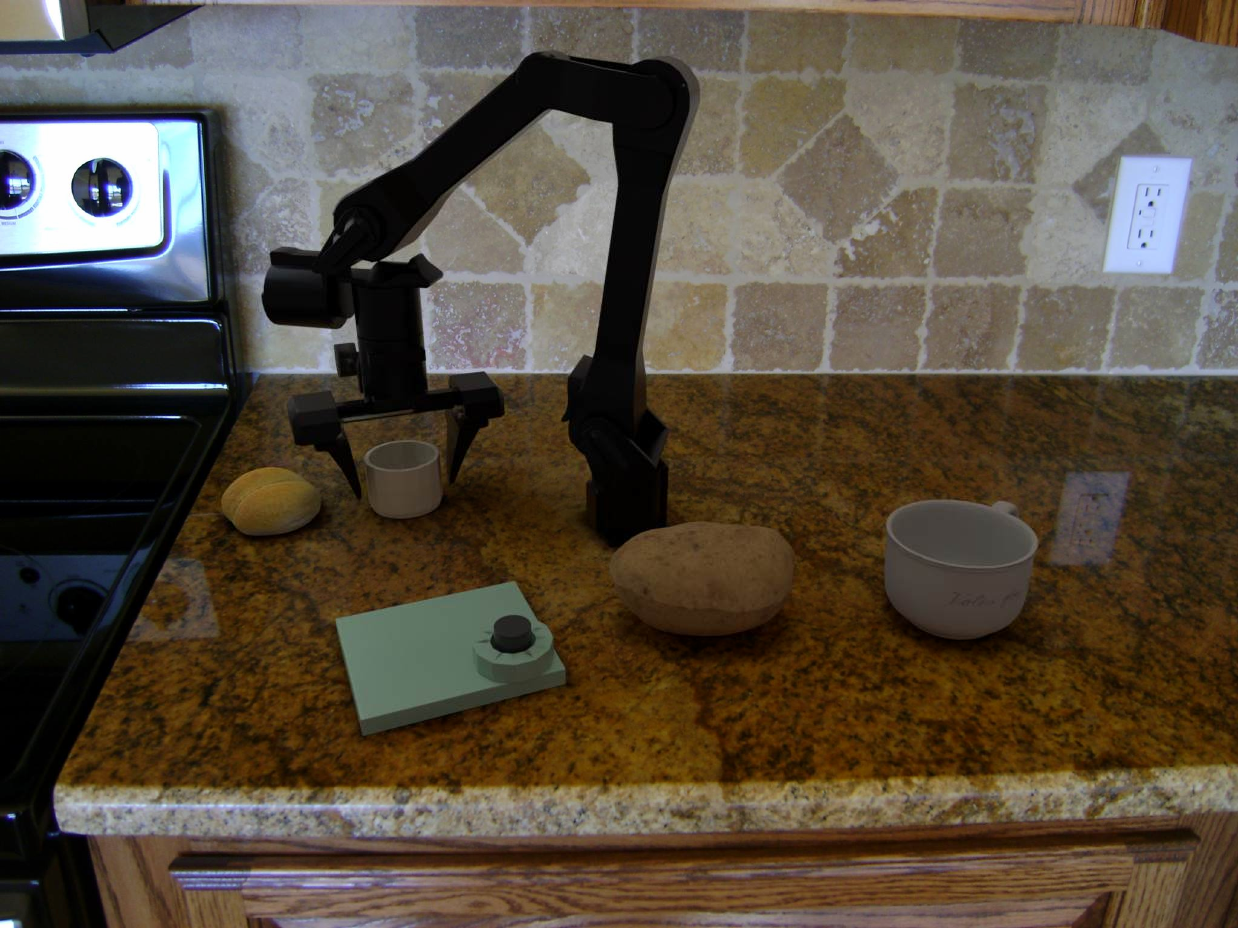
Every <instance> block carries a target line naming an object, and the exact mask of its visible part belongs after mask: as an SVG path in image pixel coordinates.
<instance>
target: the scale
mask: <svg viewBox="0 0 1238 928" xmlns="http://www.w3.org/2000/svg"><path fill="white" fill-rule="evenodd" d="M507 615H520V616H524V617H526V618H527V619H528V620H529V621H530V622H531V634H532V644H531V646H530V648H529V649H528V650H526V651H524V652H520V653H515V654H508V653H501V652H499V651H498V650H497V649H496V648H495V645H494V628H493V627H494V624H495V622H496V621H497V620H498V619H500V618H501V617H504V616H507ZM335 628H336V635H337V638H338V642H339V646H340V650H341V655H342V658H343V662H344V667H345V670H346V675H347V679H348V683H349V687H350V691H351V694H352V695H351V696H352V699H353V703H354V707H355V711H356V715H357V719H358V723H359V728H360V732H361V735H362V737H365V736H369V735H373V734H377V733H380V732H384V731H388V730H392V729H396V728H399V727H403V726H407V725H412V724H416V723H419V722H423V721H426V720H430V719H434V718H438V717H443V716H447V715H450V714H454V713H458V712H462V711H465V710H469V709H473V708H477V707H482V706H485V705H489V704H493V703H496V702H500V701H504V700H509V699H512V698H517V697H521V696H525V695H528V694H532V693H535V692H539V691H543V690H548V689H551V688H555V687H559V686H563V685H566V684H567V677H566V676H567V675H566V674H567V672H566V671H567V669H566V667H565V665H564V663H563V662H562V660H561V658H560V656H559V655H558V653H557V651H556V649H555V646H554V643H555V640H554V639H555V638H554V635H553V633H552V632H551V630H550V628H549V627H548V624H545V623H543V622H541V621H539V620H538V619H537V617H536V615H535V613H534V612H533V610H532V608H531V606H530V605H529V603H528V601H527V600H526V598H525V596H524V594H523V593H522V591H521V589H520V587H519V586H518V584H517V582H516V581H515V580H512V581H508V582H503V583H497V584H494V585H489V586H485V587H481V588H474V589H470V590H465V591H461V592H455V593H450V594H447V595H441V596H438V597H432V598H427V599H422V600H418V601H413V602H409V603H403V604H399V605H395V606H394V605H393V606H390V607H386V608H380V609H376V610H369V611H366V612H362V613H357V614H353V615H352V614H351V615H346V616H343V617H338V618H335Z"/></svg>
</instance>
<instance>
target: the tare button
mask: <svg viewBox="0 0 1238 928" xmlns="http://www.w3.org/2000/svg"><path fill="white" fill-rule="evenodd" d="M493 628H494V645H495V648H496V649H497V650H498V651H499V652H501V653H508V654H515V653H520V652H524V651H526V650H528V649H529V648H530V646H531V644H532V634H531V622H530V621H529V620H528V619H527V618H526V617H524V616H520V615H507V616H504V617H501V618H500V619H498V620H497V621H496V622H495V624H494V627H493Z"/></svg>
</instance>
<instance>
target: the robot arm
mask: <svg viewBox="0 0 1238 928" xmlns="http://www.w3.org/2000/svg"><path fill="white" fill-rule="evenodd" d="M700 103H701V86H700V81H699V80H698V78H697V76H696V75H695V73H694V72H693V70H692V69H691V67H690V66H689V65H687V64H686V63H685V62H684V61H683V60H682V59H679V58H676V57H674V56H671V55H657V56H653V57H649V58H645V59H642V60H640V61H637V62H634V63H627V62H620V61H613V60H606V59H599V58H590V57H584V56H576V55H571V54H566V53H564V52H563V51H560V50H556V49H550V50H542V51H535V52H534V51H533V52H531V53H529V54H528V55H526V56H525V57H523V58H522V60H521V61H520V63H519V64H518V66H517V67H516V69H514V71H512V72H511V73H510V74H509V75H508V76H507V77H506V78H505V79H504V80H502V81H501V82H500V83H498V85H497V86H495V87H494V88H493V89H492V90H490V91H489V92H488V93H487V94H486V95H485V96H483V98H481V99H480V100H479V101H478V102H477V103H476V104H474V105H473V106H472V107H471V108H469V109H468V110H467V111H466V112H465V113H464V114H462V115H461V116H460V117H459V118H457V120H456V121H454V122H453V123H452V124H451V125H450V126H449V127H448V128H446V129H445V130H444V131H443V132H442V133H440V134H439V135H438V136H437V137H436V138H435V139H434V140H432V141H431V142H430V143H428V145H426V147H424V148H422V150H421V151H420V152H418V153H417V154H416V155H415V156H413V157H412V158H411V159H409V160H408V161H406V162H403V163H402V164H400V165H398V166H397V167H394V168H392V169H390V170H388V171H387V172H384V173H383V174H380V175H379V176H376V177H375V178H373V179H371V180H369V181H368V182H366V183H364V184H362V185H360V186H358V187H357V188H355V189H353V190H351V191H350V192H347V193H346V194H344V195H343V196H341V197H340V198H339V200H338V201H337V202H336V204H335V205H334V207H333V209H332V213H331V214H332V219H333V222H332V223H333V225H332V226H333V229H332V231H331V233H330V234H329V236H328V237H327V239H326V241H325V243H324V245H323V246H322V248H321V250H312V249H311V250H310V249H302V248H298V247H295V246H284V245H283V246H279V247H277V248H274V249H272V250H270V252H269V253H268V254H269V260H270V266H269V267H268V269H267V270H266V273H265V276H264V281H263V290H262V292H261V294H260V297H261V304H262V308H263V311H264V313H265V316H266V317H267V319H268V320H269V321H270V322H271V323H272V324H273V325H277V326H284V327H285V326H287V327H299V328H300V327H301V328H310V329H311V328H312V329H325V330H326V329H327V330H339V329H342V328H343V327H344V325H345V324H346V323H347V321H348V320H349V319H352V318H353V317H354V322H355V329H356V330H355V331H356V340H357V345H356V343H355V342H353V341H352V342H343V343H335V344H333V352H334V360H335V367H336V373H337V377H338V378H340V379H341V378H349V377H357V378H356V379H357V387H358V390H359V393H360V394H363V398H362V399H360V398H359V399H354V400H346V401H339V402H336V400H335V398H334V395H333V392H332V390H323V391H315V392H307V393H301V394H300V393H299V394H292V395H291V396H290V398H289V399H288V400H287V402H286V409H287V414H288V420H289V421H288V423H289V426H290V430H291V434H292V438H293V441H294V445H295V446H299V447H308V446H313V449H314V451H315V452H317V453H323V452H324V453H325V452H327V454H328V455H330V457H331V459H332V460H333V461H334V462H335V463H336V465H337V466H338V467H339V469H340V470H341V472H342V474H343V475H344V477H345V478H346V481H347V482H348V484H349V487H350V488H351V491H352V492H353V494H354V496H355V498H356V499H357V500H359V501H360V500H362V499H363V495H362V494H363V493H362V486H361V482H360V479H359V474H358V471H357V467H356V463H355V460H354V459H355V458H354V455H353V451H352V448H351V444H350V441H349V438H348V436H347V434H346V430H345V427H344V426H345V425H344V424H351V423H358V422H365V421H373V420H380V419H387V418H394V417H395V418H396V417H402V416H409V415H415V414H423V413H430V412H437V411H438V412H439V411H443V410H444V413H445V421H446V446H445V447H446V448H445V449H446V451H445V470H446V477H447V482H448V483H449V484H450V485H454V484H455V482H456V480H457V477H458V475H459V473H460V469H461V467H462V464H463V463H464V460H465V457H466V455H467V453H468V450H469V448H470V447H471V445H472V443H473V442H474V440H475V438H476V436H477V434H478V433H479V432H480V430H481V429H486V428H488V427H489V425H490V420H493V419H499V418H503V417H504V416H505V415H506V409H505V407H506V406H505V396H504V392H503V389H501V387H500V386H499V385H498V384H497V383H496V381H495V380H494V379H493V377H492V376H491V375H489V374H488V373H487V372H486V371H485V370H482V371H481V370H480V371H475V372H467V373H466V372H465V373H457V374H450V375H449V377H448V381H447V384H448V385H447V386H448V387H445V388H438V389H429V383H428V371H427V370H428V369H427V352H426V345H425V333H424V332H425V331H424V321H423V310H422V309H423V308H422V295H421V289H429V288H430V287H431V286H433V285H434V284H436V283H437V282H438V281H440V280H441V279H443V278H444V273H443V271H442V270H441V269H440V268H439V267H437V265H435V264H433V263H432V262H431V261H429V260H428V258H427V257H426V256H425V254H424V253H423V252H419V253H418V254H416V255H414V256H413V257H411V258H410V259H409V261H395V260H384V259H386V258H388V257H390V256H391V255H393V254H395V253H397V252H398V251H401V250H403V249H404V248H406V247H408V246H410V245H411V244H413V243H415V242H416V240H418V239H419V237H420V236H422V234H423V233H424V232H425V230H426V229H427V228H428V227H429V226H430V224H431V223H432V222H433V221H434V220H435V218H436V217H437V216H438V215H439V213H440V211H441V210H442V208H443V207H444V205H445V203H446V202H447V200H448V199H449V198H450V197H451V196H452V194H453V193H454V192H455V191H456V189H458V188H459V187H460V186H462V185H463V184H464V183H465V182H466V181H467V180H469V179H470V178H471V177H472V176H474V175H475V174H476V173H478V171H480V170H481V169H482V168H484V167H485V166H486V165H487V164H488V163H490V162H491V161H492V160H493V159H495V157H497V156H498V155H500V154H501V153H502V152H503V151H504V150H505V149H507V148H508V147H509V146H510V145H512V144H513V143H514V142H516V141H517V140H518V139H519V138H520V137H521V136H523V135H524V134H525V133H526V132H527V131H529V130H530V129H531V128H533V126H535V125H536V124H537V123H539V122H540V121H541V120H543V118H545V117H546V116H547V115H548V114H550V113H551V112H552V111H558V112H562V113H566V114H568V115H573V116H577V117H580V118H584V119H587V120H592V121H595V122H602V123H607V124H611V128H612V129H611V131H612V133H611V134H612V148H613V156H614V162H615V163H614V164H615V170H616V171H615V172H616V177H617V189H616V198H615V203H614V204H615V205H614V211H613V217H612V225H611V232H610V239H609V246H608V253H607V260H606V261H607V262H606V268H605V275H604V281H603V282H604V283H603V290H602V297H601V304H600V311H599V318H598V324H597V332H596V338H595V346H594V351H593V355H592V356H590V355H587V354H585V353H583V355H582V356H581V358H580V359H579V360H578V362H577V363H576V365H575V366H574V368H573V369H572V370H571V372H570V373H569V375H568V376H567V381H566V382H567V383H566V384H567V385H566V391H567V404H566V407H565V408H566V409H565V412H564V413H563V415H562V417H561V418H560V422H562V423H566V422H568V424H567V435H568V438H569V441H570V443H571V444H572V445H573V446H574V447H575V448H576V450H577V451H578V452H579V453H580V454H581V455H583V456H584V458H585V460H586V462H587V465H588V468H589V470H590V472H591V479H588V480H587V481H586V483H585V496H586V497H585V501H586V503H585V506H586V509H585V511H584V517H585V519H586V521H587V523H588V524H589V525H590V526H591V527H592V529H593V530H594V531H595V532H596V533H597V534H598V535H599V537H601V539H602V540H603V541H604V543H605V544H606V545H607V546H608V547H611V548H615V547H621V546H622V545H623V544H625V543H626V542H627V541H629V540H630V539H631V538H632V537H634V536H636V535H638V534H640V533H642V532H645V531H649V530H652V529H659V528H667V527H671V526H673V525H672V523H670V522H669V521H668V502H669V501H668V500H669V498H668V497H669V475H670V474H669V473H670V471H669V470H670V466H669V465H668V463H666V462H665V461H664V460H663V459H662V458H661V457H662V454H663V451H664V448H665V446H666V442H667V441H668V437H669V434H670V428H669V426H667V424H666V423H664V421H662V420H661V418H660V417H659V416H658V415H657V414H656V413H655V412H654V411H653V410H652V409H651V408H650V407H649V406H648V405H647V402H648V401H647V399H648V398H647V373H646V365H645V358H644V341H645V336H646V329H647V323H648V317H649V311H650V307H651V306H650V305H651V299H652V294H653V288H654V282H655V281H654V280H655V275H656V269H657V265H658V259H659V251H660V245H661V239H662V233H663V227H664V221H665V216H666V210H667V209H666V208H667V204H668V197H669V192H670V191H669V190H670V186H671V183H672V181H673V178H674V175H675V174H676V170H677V168H678V165H679V162H680V160H681V157H682V155H683V152H684V150H685V147H686V145H687V142H688V138H689V136H690V133H691V130H692V128H693V125H694V122H695V118H696V116H697V114H698V111H699V107H700ZM362 261H364V262H369V263H372V264H373V263H374V264H373V265H372V267H371V268H359V267H353V266H355V265H357V264H359V263H360V262H362ZM357 350H358V351H357Z"/></svg>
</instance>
